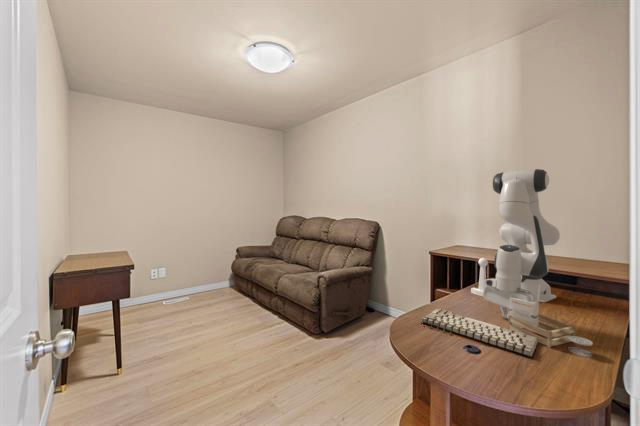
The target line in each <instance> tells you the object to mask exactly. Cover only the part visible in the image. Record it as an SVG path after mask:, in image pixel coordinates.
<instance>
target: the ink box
mask: <svg viewBox="0 0 640 426" xmlns="http://www.w3.org/2000/svg"><path fill="white" fill-rule="evenodd" d="M539 303H540V302H539V301H534V302H527V301H524V300H521V299H518V298H515V297H511V298H510V303H509V311H508V312H509V315H511V316H512V317H514V318H516V319H519V320H522V321H524V322H527V323H529V324H532V325H534V326H537V327H538V322H539V320H538V318H539V314H540V311H539V309H540V306H539V305H540V304H539ZM512 325H514V326H517V327H519V328H522V329H524V330H526V331H529V332H531V333H534V334H536V335H537V333H536V332H533V331H531V330H528V329H526V328H523V327H521V326H519V325H516V324H514V323H512Z"/></svg>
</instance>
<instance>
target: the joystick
mask: <svg viewBox="0 0 640 426" xmlns="http://www.w3.org/2000/svg"><path fill="white" fill-rule="evenodd" d="M477 263H478V265H479V267H480V268H479V279H478V288H477V287H471V288H470V293H471V294H474V295H477V296H480V297H483V289H484V286H485V285H486V284H485V283H484V281H485V280H486V279H487V275H486V274H487V272H486V267H487V266H488V264H489V261H488V259H487V258H484V257H481V258H479V259H478V261H477Z"/></svg>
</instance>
